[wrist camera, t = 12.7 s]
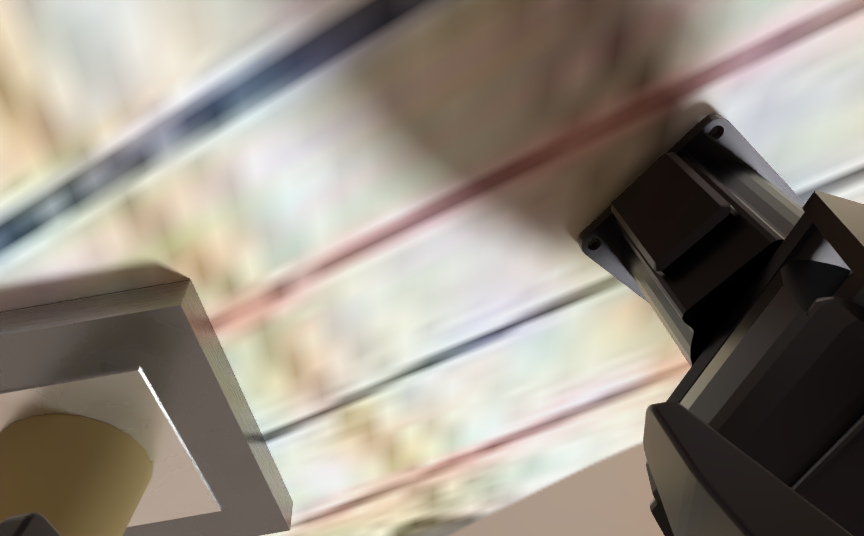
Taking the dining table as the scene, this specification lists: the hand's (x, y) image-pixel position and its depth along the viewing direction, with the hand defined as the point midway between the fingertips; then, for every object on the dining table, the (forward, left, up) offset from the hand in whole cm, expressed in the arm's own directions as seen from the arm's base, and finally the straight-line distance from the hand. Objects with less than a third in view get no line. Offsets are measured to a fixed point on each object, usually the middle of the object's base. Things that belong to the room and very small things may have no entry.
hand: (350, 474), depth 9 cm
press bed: (+1, +18, -13) cm, 22 cm away
